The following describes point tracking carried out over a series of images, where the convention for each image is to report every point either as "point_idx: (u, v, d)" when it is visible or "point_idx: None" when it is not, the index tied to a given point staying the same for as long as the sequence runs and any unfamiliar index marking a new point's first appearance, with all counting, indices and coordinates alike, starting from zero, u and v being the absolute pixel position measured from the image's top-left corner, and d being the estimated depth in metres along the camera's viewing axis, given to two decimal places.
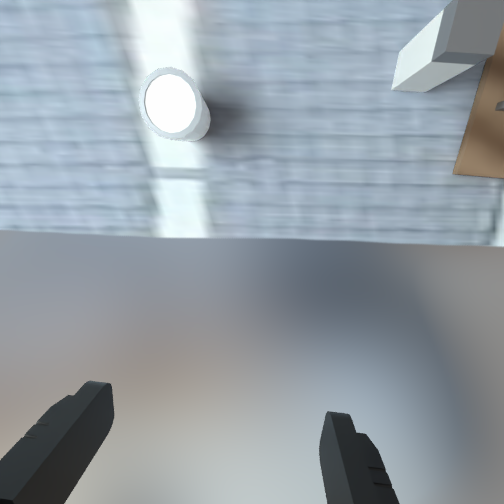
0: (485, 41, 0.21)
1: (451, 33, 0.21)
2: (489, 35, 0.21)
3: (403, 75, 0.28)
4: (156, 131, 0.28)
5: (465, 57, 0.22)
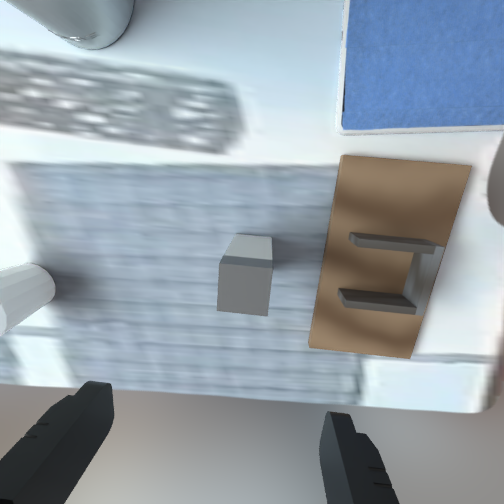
0: (255, 304, 0.20)
1: (219, 296, 0.20)
2: (258, 299, 0.20)
3: None
4: None
5: None
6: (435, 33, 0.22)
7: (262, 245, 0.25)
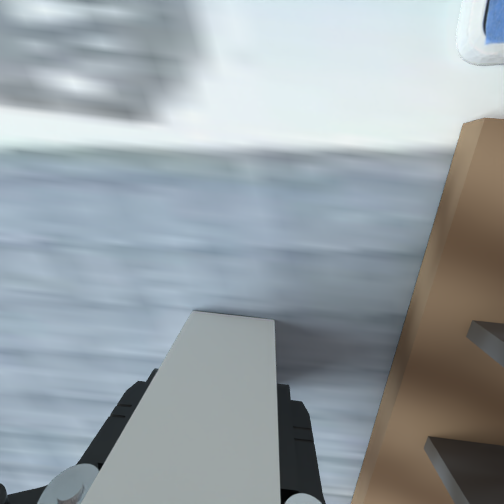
0: None
1: None
2: None
3: None
4: None
5: None
6: None
7: (249, 379, 0.09)
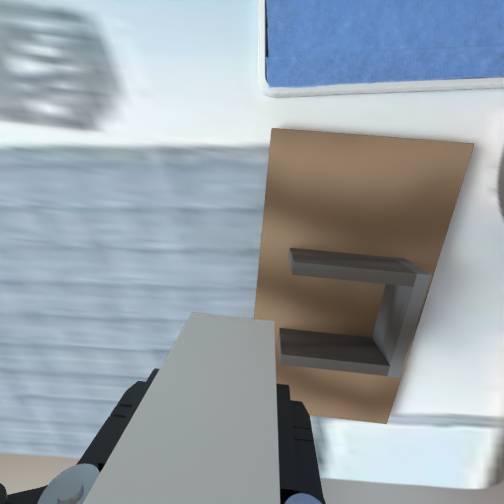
0: None
1: None
2: None
3: None
4: None
5: None
6: None
7: (248, 381, 0.09)
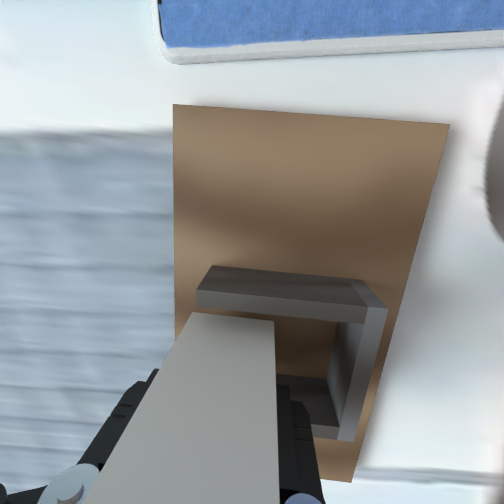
0: None
1: None
2: None
3: None
4: None
5: None
6: None
7: (248, 381, 0.09)
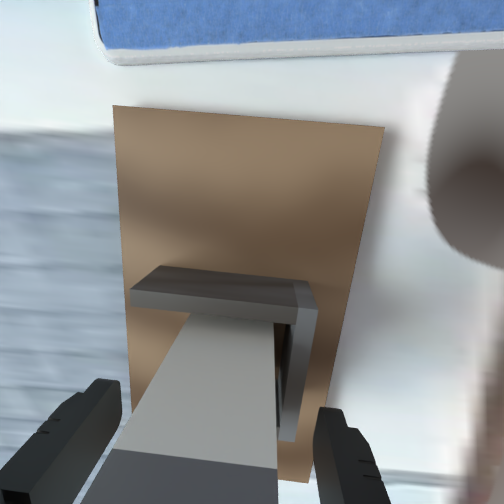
0: None
1: None
2: None
3: None
4: None
5: None
6: None
7: (250, 351, 0.10)
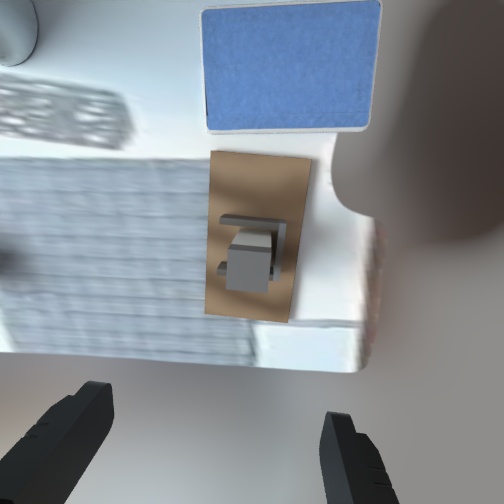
0: (257, 283, 0.24)
1: (227, 277, 0.24)
2: (259, 279, 0.24)
3: None
4: None
5: None
6: (269, 55, 0.28)
7: (262, 237, 0.29)
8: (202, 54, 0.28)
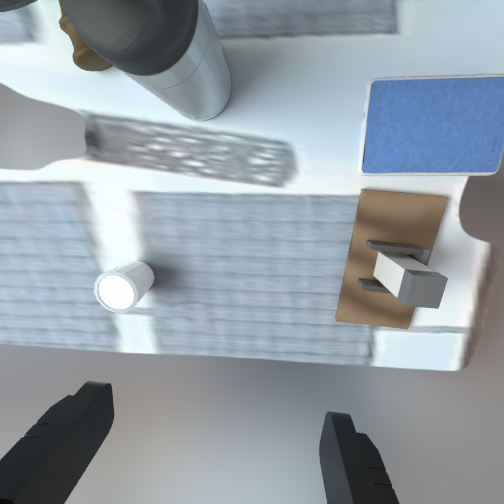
0: (432, 301, 0.31)
1: (408, 296, 0.31)
2: (434, 298, 0.31)
3: (381, 277, 0.38)
4: (107, 308, 0.39)
5: None
6: (423, 116, 0.35)
7: (412, 261, 0.36)
8: (366, 114, 0.35)
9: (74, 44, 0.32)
